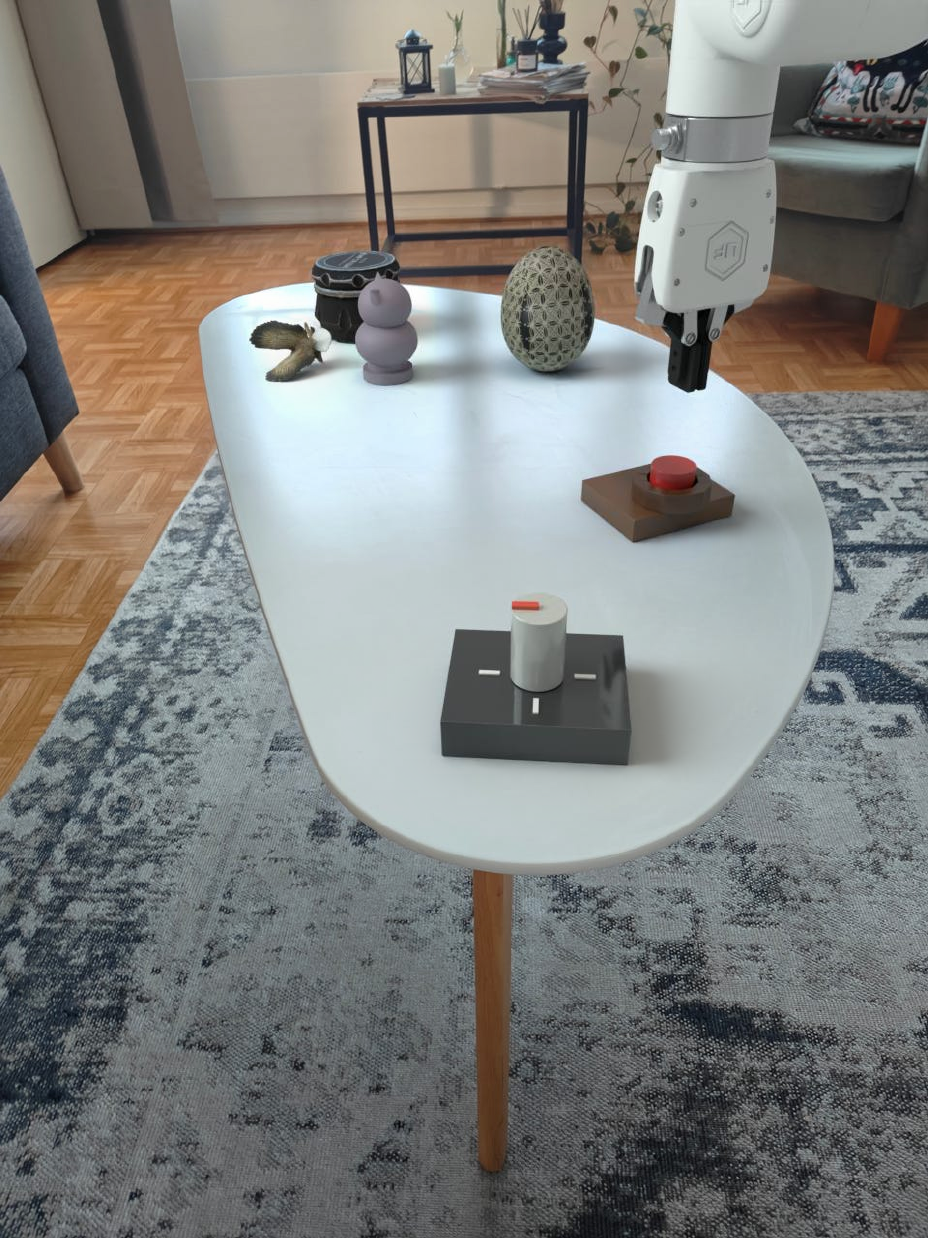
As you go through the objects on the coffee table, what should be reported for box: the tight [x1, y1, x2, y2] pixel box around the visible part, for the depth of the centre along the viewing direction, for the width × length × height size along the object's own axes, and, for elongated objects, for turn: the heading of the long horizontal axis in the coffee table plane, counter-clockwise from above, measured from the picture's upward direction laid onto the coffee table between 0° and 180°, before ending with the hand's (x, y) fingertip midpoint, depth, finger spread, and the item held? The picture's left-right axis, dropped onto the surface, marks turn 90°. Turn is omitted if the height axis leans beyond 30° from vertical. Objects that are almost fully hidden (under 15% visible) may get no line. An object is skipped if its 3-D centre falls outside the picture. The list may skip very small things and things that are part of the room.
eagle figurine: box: [248, 320, 332, 382], centre depth 116 cm, size 8×7×9 cm
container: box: [310, 250, 402, 344], centre depth 127 cm, size 13×13×10 cm
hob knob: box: [510, 592, 569, 692], centre depth 59 cm, size 4×4×6 cm
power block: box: [580, 463, 736, 543], centre depth 84 cm, size 11×10×4 cm
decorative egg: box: [500, 245, 596, 372], centre depth 112 cm, size 12×12×15 cm
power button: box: [649, 454, 698, 490], centre depth 81 cm, size 4×4×2 cm
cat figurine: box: [354, 271, 419, 386], centre depth 112 cm, size 8×8×12 cm
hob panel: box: [439, 628, 633, 766], centre depth 61 cm, size 12×10×3 cm
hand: (686, 385), depth 76 cm, fingers closed
